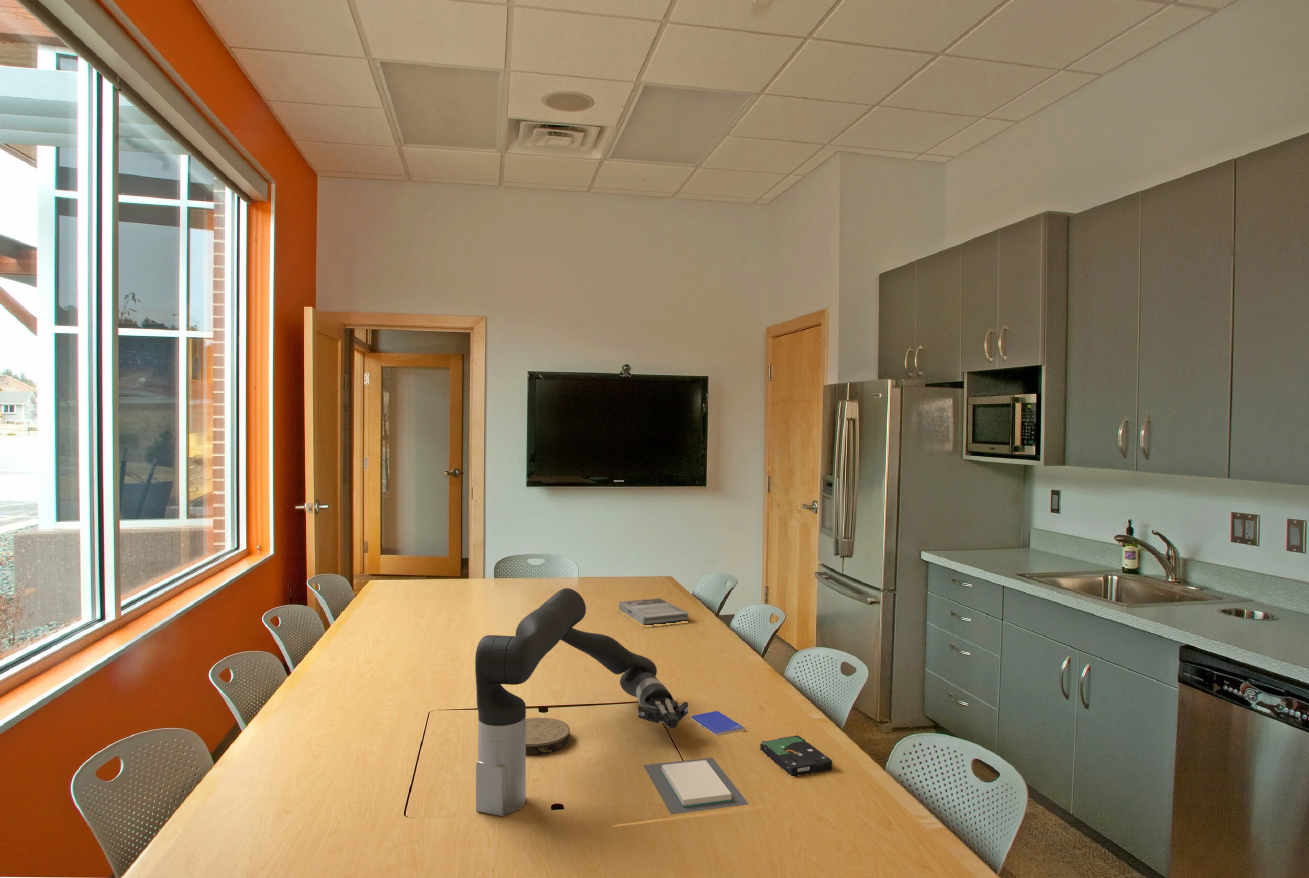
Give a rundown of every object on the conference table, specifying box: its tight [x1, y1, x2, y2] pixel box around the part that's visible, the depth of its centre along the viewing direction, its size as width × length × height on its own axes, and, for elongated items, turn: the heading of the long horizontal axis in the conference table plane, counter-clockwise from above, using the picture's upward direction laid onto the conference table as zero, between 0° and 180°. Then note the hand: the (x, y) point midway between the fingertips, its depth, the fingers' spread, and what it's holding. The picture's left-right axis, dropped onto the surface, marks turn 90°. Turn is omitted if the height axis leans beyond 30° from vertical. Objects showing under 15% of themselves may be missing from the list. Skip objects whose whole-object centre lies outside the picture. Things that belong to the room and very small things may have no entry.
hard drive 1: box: [618, 597, 690, 625], centre depth 302 cm, size 18×27×4 cm
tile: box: [662, 760, 732, 807], centre depth 160 cm, size 2×10×16 cm
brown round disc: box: [526, 717, 571, 757], centre depth 183 cm, size 16×16×3 cm
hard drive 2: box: [690, 710, 746, 736], centre depth 194 cm, size 2×8×12 cm
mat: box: [643, 757, 749, 815], centre depth 161 cm, size 22×16×1 cm
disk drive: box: [759, 734, 833, 777], centre depth 174 cm, size 10×3×15 cm
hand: (673, 724), depth 176 cm, fingers closed
